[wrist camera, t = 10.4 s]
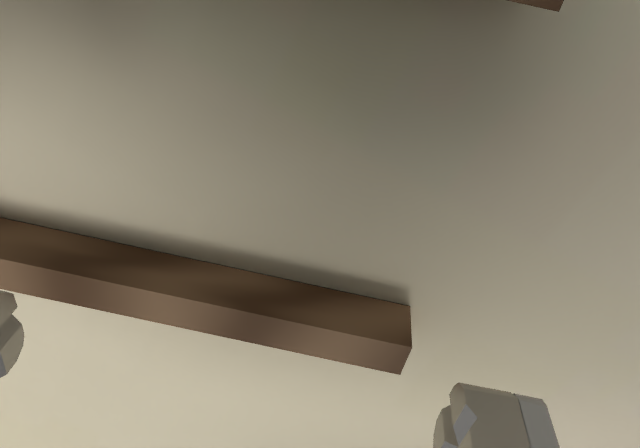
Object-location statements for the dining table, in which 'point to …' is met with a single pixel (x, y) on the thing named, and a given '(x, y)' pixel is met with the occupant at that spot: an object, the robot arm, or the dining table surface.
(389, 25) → the dining table surface
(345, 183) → the dining table surface
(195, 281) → the guide channel
